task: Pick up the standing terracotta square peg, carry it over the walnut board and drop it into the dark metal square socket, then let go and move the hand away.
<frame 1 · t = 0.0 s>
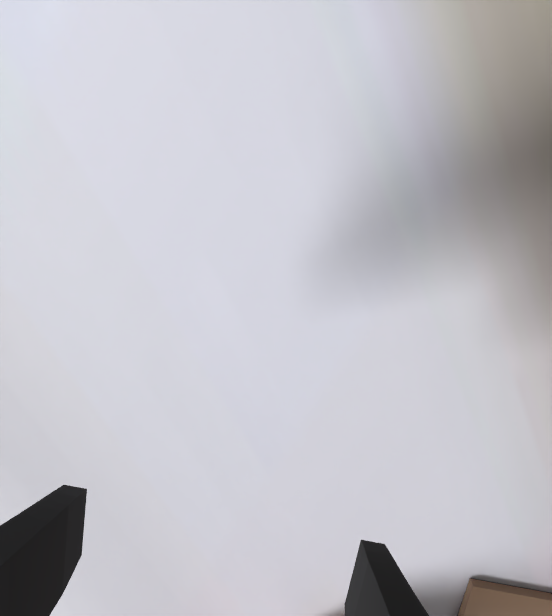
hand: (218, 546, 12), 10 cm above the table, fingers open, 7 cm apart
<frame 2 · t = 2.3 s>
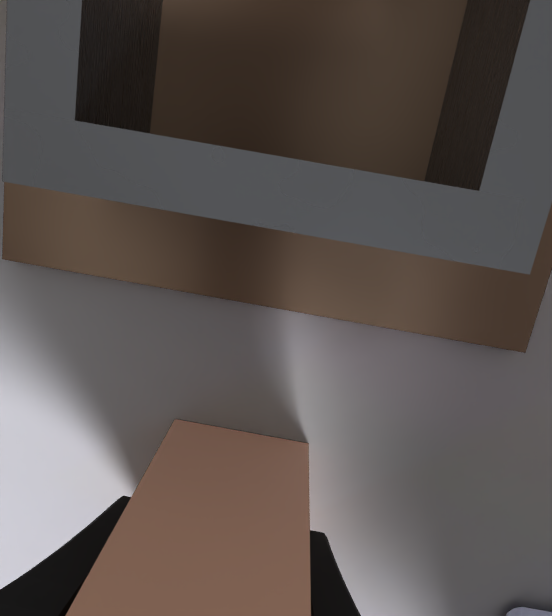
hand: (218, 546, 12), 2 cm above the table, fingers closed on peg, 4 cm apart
peg: (231, 489, 15), on the table, touching gripper
socket board: (310, 19, 12), on the table
when the fingers open (5 cm above the table, at t = 7.0 s): peg drops 2 cm, resting on socket board.
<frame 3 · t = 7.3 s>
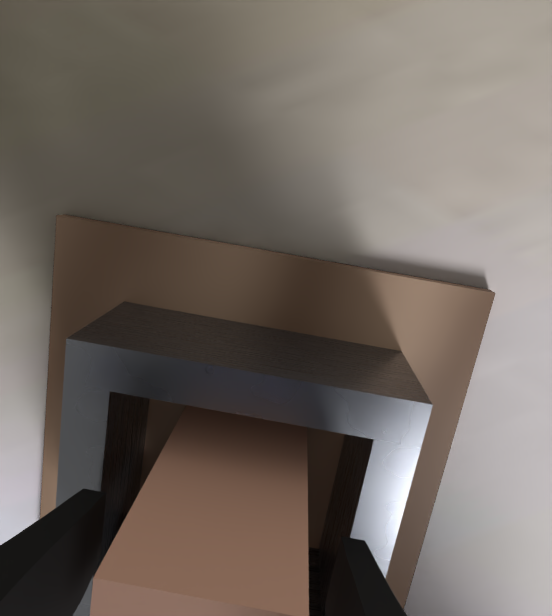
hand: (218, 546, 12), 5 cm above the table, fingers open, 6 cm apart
peg: (240, 457, 17), resting on socket board
socket board: (243, 443, 18), on the table
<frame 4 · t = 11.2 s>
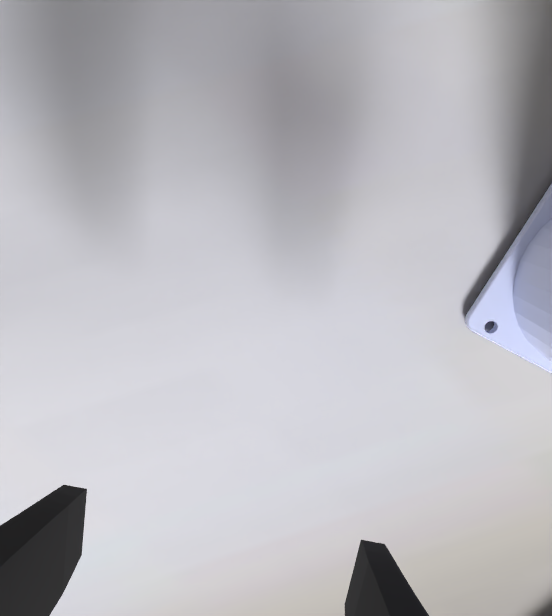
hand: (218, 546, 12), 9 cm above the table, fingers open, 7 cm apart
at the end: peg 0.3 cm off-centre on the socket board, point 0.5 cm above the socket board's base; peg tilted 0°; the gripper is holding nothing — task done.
